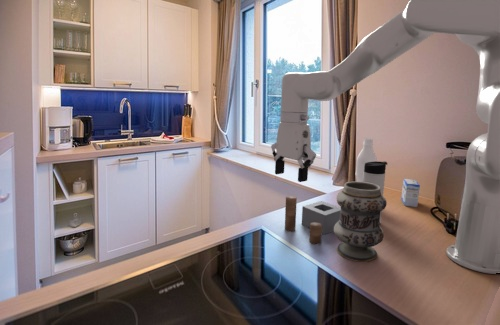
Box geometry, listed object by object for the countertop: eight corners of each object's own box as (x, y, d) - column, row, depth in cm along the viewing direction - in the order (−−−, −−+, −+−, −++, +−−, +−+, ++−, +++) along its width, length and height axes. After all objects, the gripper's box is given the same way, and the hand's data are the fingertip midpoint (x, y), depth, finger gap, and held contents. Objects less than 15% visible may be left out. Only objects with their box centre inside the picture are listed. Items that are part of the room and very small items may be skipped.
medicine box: (400, 199, 120) (403, 178, 118) (413, 200, 118) (415, 179, 116) (404, 205, 112) (406, 183, 110) (417, 207, 111) (420, 184, 109)
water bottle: (352, 205, 113) (357, 138, 107) (353, 199, 119) (358, 136, 114) (372, 207, 110) (379, 140, 105) (373, 201, 116) (379, 137, 111)
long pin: (297, 229, 91) (298, 198, 89) (289, 232, 89) (291, 200, 87) (290, 226, 93) (291, 195, 91) (282, 228, 91) (283, 197, 89)
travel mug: (383, 226, 93) (389, 164, 89) (360, 225, 94) (366, 163, 90) (378, 219, 99) (384, 160, 95) (358, 217, 100) (363, 159, 96)
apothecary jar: (369, 241, 84) (375, 178, 80) (390, 264, 72) (399, 192, 68) (326, 241, 83) (330, 179, 80) (341, 265, 72) (347, 192, 68)
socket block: (343, 227, 93) (344, 208, 92) (324, 234, 88) (325, 215, 86) (320, 218, 100) (321, 200, 99) (301, 224, 95) (302, 206, 93)
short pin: (323, 242, 83) (324, 225, 82) (315, 245, 81) (316, 228, 80) (314, 238, 85) (315, 221, 84) (306, 241, 84) (307, 224, 83)
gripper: (326, 120, 80) (322, 182, 83) (282, 116, 93) (280, 169, 97) (307, 121, 75) (302, 186, 79) (264, 116, 89) (262, 172, 93)
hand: (290, 177), depth 88 cm, fingers open, 9 cm apart
